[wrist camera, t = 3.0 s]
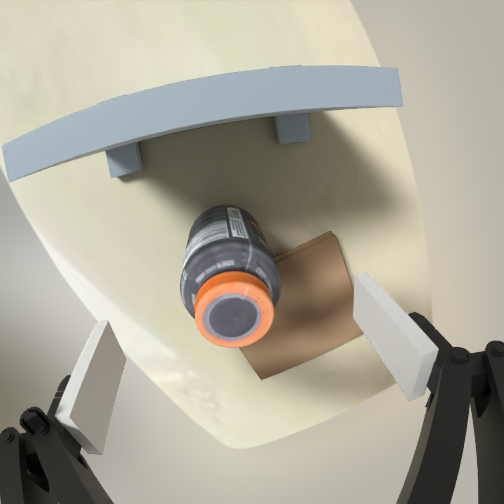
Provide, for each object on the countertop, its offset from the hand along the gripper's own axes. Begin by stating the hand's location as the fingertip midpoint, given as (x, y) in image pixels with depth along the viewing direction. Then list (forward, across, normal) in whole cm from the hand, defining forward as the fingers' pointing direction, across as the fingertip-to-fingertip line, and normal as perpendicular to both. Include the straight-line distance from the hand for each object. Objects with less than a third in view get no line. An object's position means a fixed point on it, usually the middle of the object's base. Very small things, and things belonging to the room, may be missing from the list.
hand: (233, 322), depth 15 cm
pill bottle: (+11, 0, 0) cm, 11 cm away
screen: (+11, 0, +10) cm, 15 cm away
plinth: (+11, +5, -8) cm, 15 cm away
